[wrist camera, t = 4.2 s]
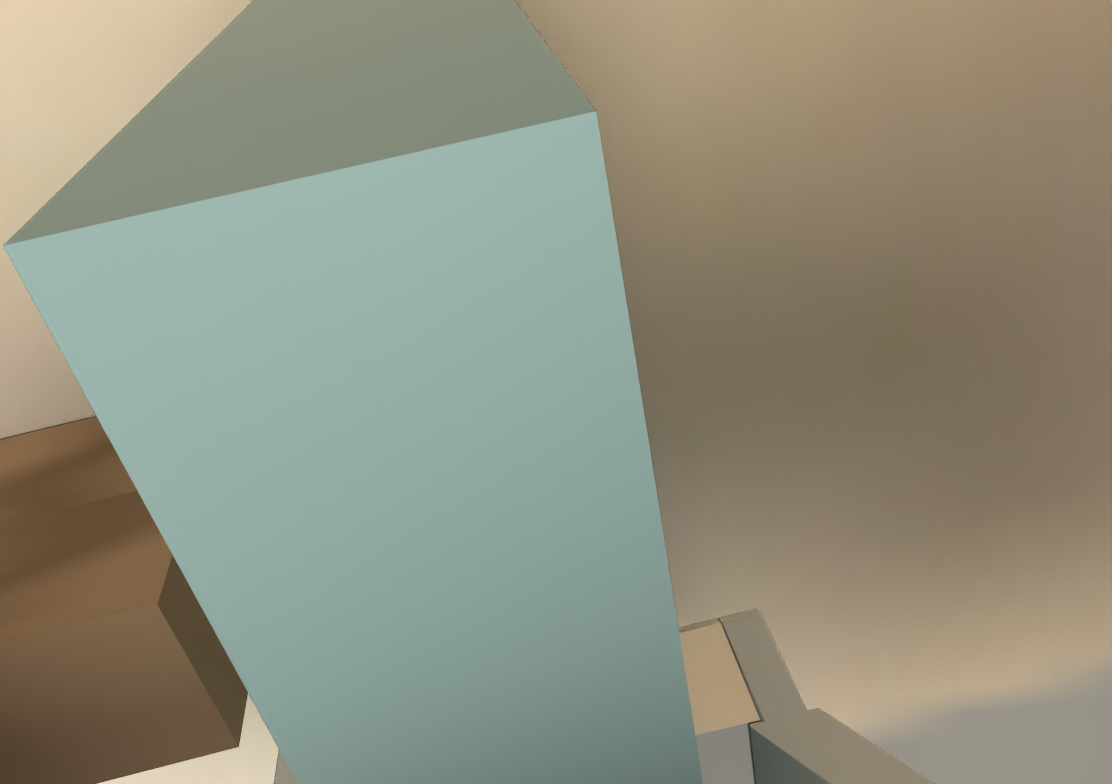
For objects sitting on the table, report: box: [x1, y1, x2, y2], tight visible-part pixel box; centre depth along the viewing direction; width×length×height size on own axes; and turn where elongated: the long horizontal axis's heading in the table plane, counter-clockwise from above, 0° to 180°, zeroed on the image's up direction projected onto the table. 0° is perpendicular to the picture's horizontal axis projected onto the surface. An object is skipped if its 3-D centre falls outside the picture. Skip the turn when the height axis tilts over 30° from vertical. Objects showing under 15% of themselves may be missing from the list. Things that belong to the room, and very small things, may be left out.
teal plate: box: [3, 0, 703, 784], centre depth 13 cm, size 3×16×10 cm, turn 11°
